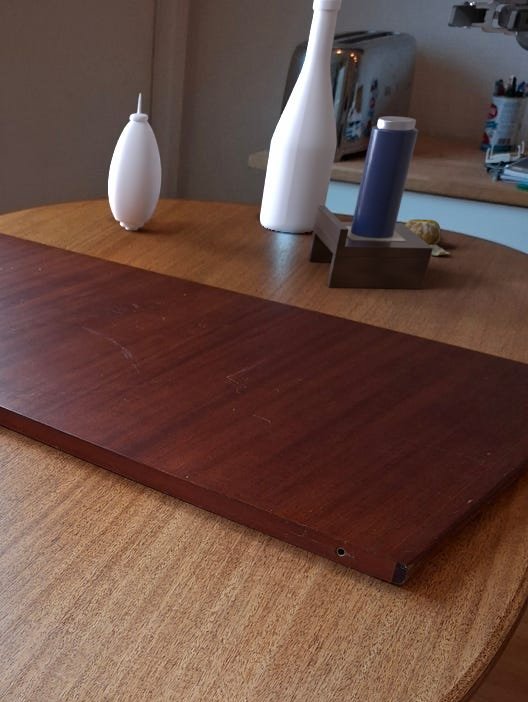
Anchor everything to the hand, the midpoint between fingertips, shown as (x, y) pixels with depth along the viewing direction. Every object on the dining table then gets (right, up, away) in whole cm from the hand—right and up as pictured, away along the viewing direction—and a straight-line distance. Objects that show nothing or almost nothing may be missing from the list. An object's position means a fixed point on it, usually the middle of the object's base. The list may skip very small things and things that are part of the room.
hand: (481, 18), depth 105 cm
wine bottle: (-14, -10, +32) cm, 37 cm away
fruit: (+2, -18, +23) cm, 29 cm away
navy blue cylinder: (-10, -21, +10) cm, 25 cm away
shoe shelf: (-10, -26, +13) cm, 30 cm away
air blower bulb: (-39, -11, +30) cm, 51 cm away
